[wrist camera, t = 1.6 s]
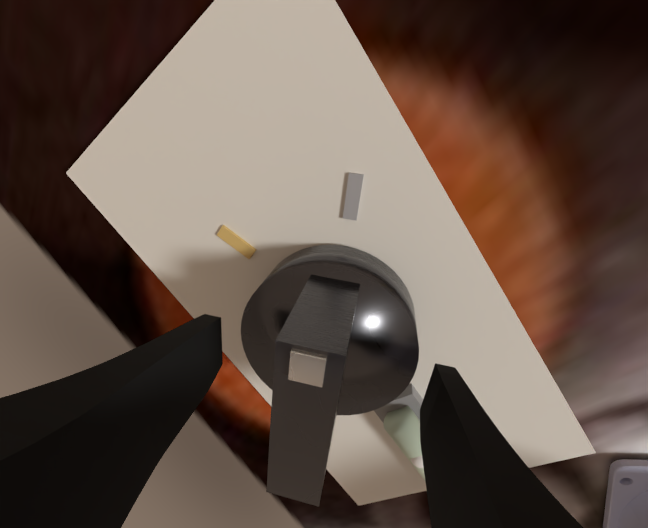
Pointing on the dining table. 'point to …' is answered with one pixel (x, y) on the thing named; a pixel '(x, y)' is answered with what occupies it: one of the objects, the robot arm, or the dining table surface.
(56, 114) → the dining table surface
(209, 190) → the base plate
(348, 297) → the knob
